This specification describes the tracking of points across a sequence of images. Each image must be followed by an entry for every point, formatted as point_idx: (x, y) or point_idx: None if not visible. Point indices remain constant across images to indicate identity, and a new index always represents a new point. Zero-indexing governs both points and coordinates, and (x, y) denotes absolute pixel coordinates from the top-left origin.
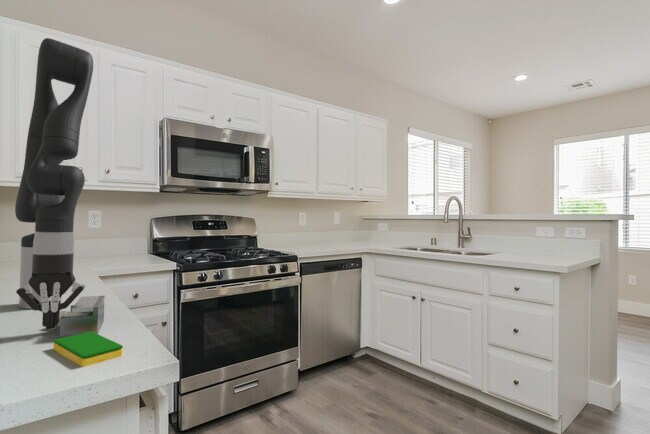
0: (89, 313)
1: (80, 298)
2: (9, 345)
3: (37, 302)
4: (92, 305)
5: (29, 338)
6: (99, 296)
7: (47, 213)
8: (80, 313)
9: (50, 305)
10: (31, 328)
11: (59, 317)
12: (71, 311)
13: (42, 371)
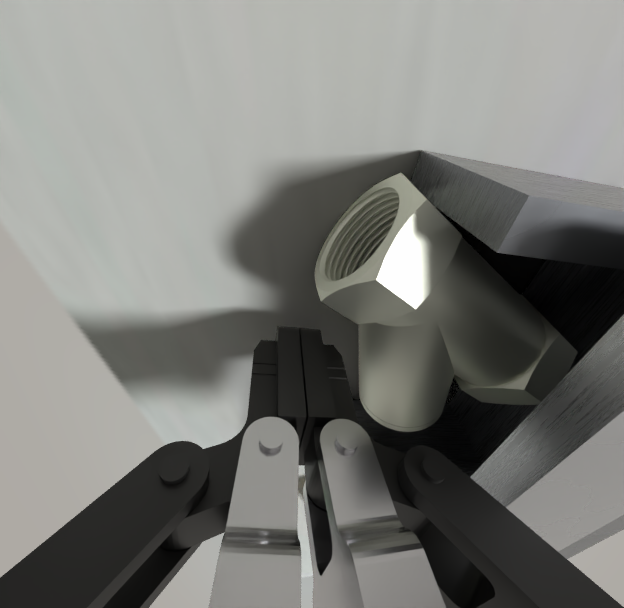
0: (526, 401)
1: None
2: (162, 422)
3: (154, 532)
4: None
5: (212, 372)
6: None
7: None
8: (488, 370)
9: (292, 480)
10: (145, 164)
11: (349, 316)
12: (470, 228)
13: (300, 543)
